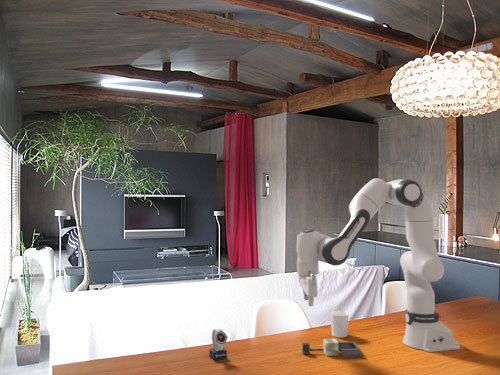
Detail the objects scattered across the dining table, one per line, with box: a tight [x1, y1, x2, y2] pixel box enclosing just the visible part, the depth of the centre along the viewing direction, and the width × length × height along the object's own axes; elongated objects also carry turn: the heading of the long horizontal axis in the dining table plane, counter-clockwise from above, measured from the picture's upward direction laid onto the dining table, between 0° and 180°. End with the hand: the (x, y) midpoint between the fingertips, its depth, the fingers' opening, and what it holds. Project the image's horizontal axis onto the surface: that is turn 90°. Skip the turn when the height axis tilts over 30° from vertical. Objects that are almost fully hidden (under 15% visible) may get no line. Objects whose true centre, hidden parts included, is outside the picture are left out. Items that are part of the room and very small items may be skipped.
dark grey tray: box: [337, 341, 362, 358], centre depth 174 cm, size 8×9×3 cm
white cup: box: [330, 310, 349, 339], centre depth 195 cm, size 8×8×10 cm
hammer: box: [301, 338, 339, 357], centre depth 174 cm, size 14×5×5 cm, turn 93°
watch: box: [208, 328, 228, 361], centre depth 169 cm, size 6×8×11 cm
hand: (308, 302), depth 177 cm, fingers open, 8 cm apart
